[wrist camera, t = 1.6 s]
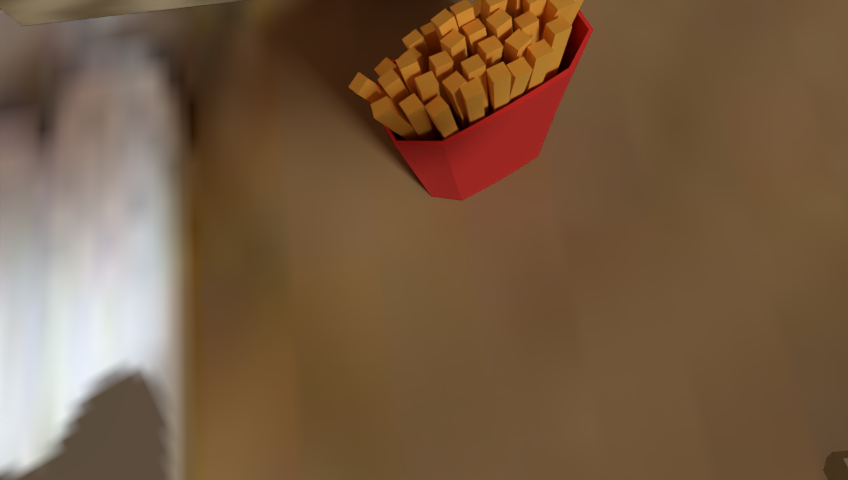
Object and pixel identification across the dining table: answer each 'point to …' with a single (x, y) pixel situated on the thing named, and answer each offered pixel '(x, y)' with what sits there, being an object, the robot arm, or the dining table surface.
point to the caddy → (87, 8)
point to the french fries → (477, 89)
